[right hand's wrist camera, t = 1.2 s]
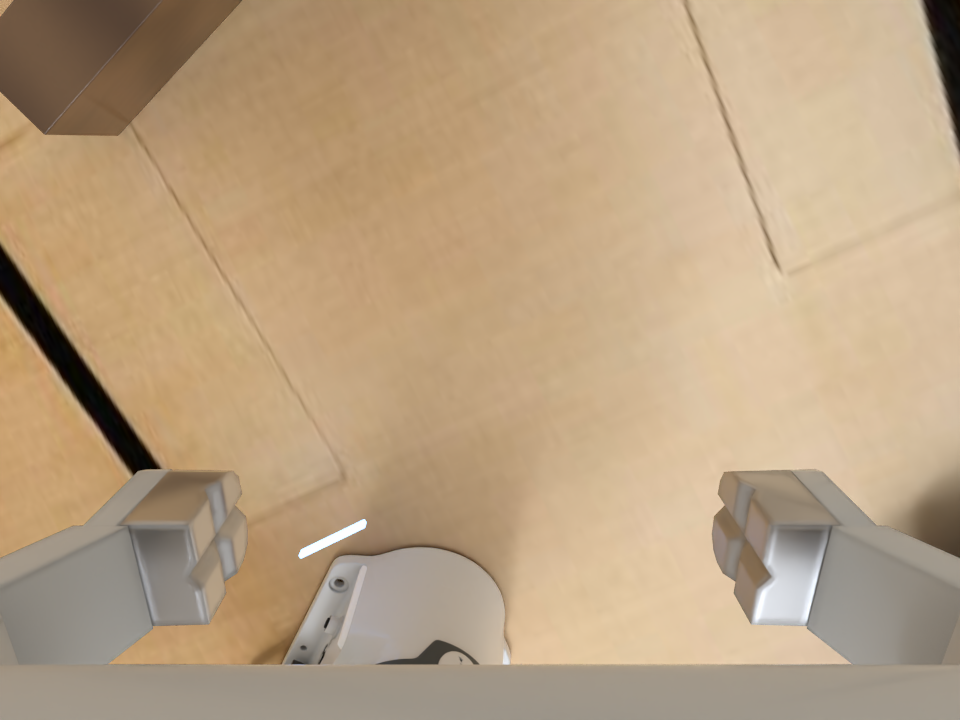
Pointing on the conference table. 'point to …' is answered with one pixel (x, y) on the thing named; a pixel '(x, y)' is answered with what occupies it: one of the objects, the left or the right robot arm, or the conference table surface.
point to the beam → (97, 57)
